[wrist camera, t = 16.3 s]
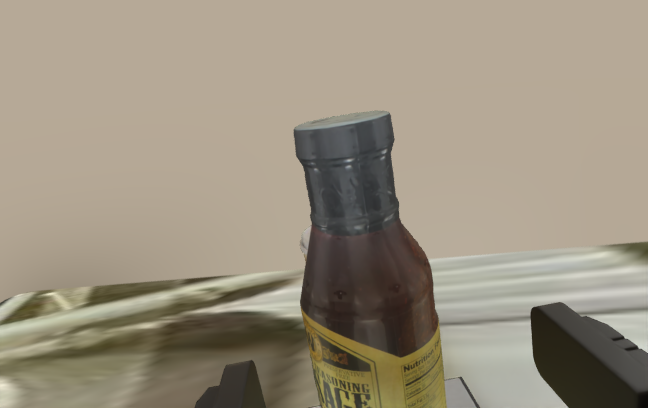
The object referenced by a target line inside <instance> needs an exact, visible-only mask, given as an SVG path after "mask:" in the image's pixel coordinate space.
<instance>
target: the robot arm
mask: <svg viewBox="0 0 648 408" xmlns="http://www.w3.org/2000/svg"><path fill="white" fill-rule="evenodd" d="M531 330H532V346H533V357H534V361H535V364H536V367H537V369H538V371H539V373H540V375H541V376H542V378H543V379H544V380H545V381H546V382H547V384H548V385H549V386H550V387H551V388H552V389H553V390H554V392H555V393H556V394H557V395H558V396H559V397H560V398H561V399H562V401H563V402H564V403H565V404H566V405H567V406H568V407H569V408H648V353H647V352H645V351H644V350H642V349H639V348H638V346H637V345H635V344H634V343H633V342H631V341H630V340H628V339H625V338H624V336H623V335H621V334H620V333H619V332H617V331H616V330H614V329H613V328H612V327H610V326H609V325H607V324H605V323H602V322H600V321H597V320H595V319H592V318H590V317H587V316H585V317H581V316H580V315H578V314H577V313H576V312H574V311H573V310H572V309H570V308H569V307H568V306H566V305H565V304H564V303H561V302H558V303H553V304H548V305H542V306H537V307H533V308H532V310H531ZM195 408H266V406H265V402H264V398H263V394H262V390H261V386H260V382H259V378H258V374H257V370H256V367H255V364H254V362H253V361H252V360H250V361H245V362H240V363H235V364H230V365H226V366H225V368H224V372H223V375H222V378H221V382H220V385H219V386H214V387H209V388H208V389H207V390H206V392H205V393H204V394H203V395H202V396H201V398H200V399H199V400H198V401H197V402H196V405H195Z"/></svg>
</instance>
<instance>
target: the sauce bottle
mask: <svg viewBox="0 0 648 408" xmlns="http://www.w3.org/2000/svg"><path fill="white" fill-rule="evenodd" d="M294 138H295V147H296V156H297V158H298V159H299V161H300V162H301V164H302V165H303V168H304V171H305V178H306V185H307V190H308V197H309V201H310V206H311V214H310V218H311V221H312V226H311V232H310V238H309V245H308V252H307V259H306V266H305V272H304V279H303V286H302V293H301V300H300V306H301V311H302V316H303V320H304V325H305V331H306V335H307V340H308V345H309V350H310V357H311V360H312V367H313V372H314V378H315V382H316V387H317V390H318V395H319V401H320V406H321V408H447V404H446V393H445V382H444V371H443V361H442V350H441V340H440V329H439V319H438V315H437V312H436V310H435V303H434V302H435V301H434V295H433V279H432V271H431V267H430V264H429V261H428V259H427V257H426V254H425V252H424V251H423V250H422V248H421V247H420V246H419V244H418V242H417V241H416V240H415V239H414V238H413V236H412V235H411V234H410V233H409V231H407V229H406V228H405V227H404V226H403V224H402V223H401V221H400V218H399V202H398V199H397V198H396V195H395V187H394V177H393V169H392V161H391V150H392V146H393V143H394V134H393V127H392V122H391V115H390V113H389V112H387V111H370V112H362V113H353V114H348V115H341V116H333V117H330V118H325V119H319V120H315V121H311V122H306V123H304V124H301V125H298V126H297V127H295V129H294Z"/></svg>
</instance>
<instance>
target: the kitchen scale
mask: <svg viewBox="0 0 648 408" xmlns="http://www.w3.org/2000/svg"><path fill="white" fill-rule="evenodd" d="M444 382H445V393H446V404H447V408H480V407H479V405H478V404H477V402H476V400H475V399H474V397H473V395H472V394H471V392H470V390H469V389H468V387H467V385H466V384H465V382H464V380H463V379H462V377H458V378H453V379H448V380H444ZM309 408H321V406H320V405H319V406H314V407H309Z"/></svg>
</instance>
